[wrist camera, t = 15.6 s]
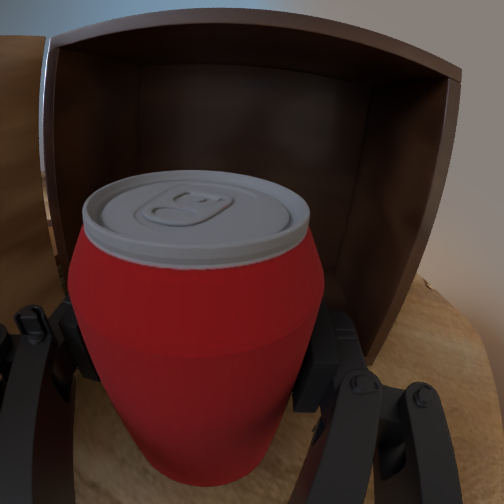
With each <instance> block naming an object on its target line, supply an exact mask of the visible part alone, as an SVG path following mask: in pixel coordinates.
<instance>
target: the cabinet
mask: <svg viewBox="0 0 504 504" xmlns="http://www.w3.org/2000/svg"><path fill="white" fill-rule="evenodd" d="M48 51H49V52H48V55H47V63H46V72H45V84H44V99H43V149H44V166H45V178H46V187H47V196H48V203H49V210H50V216H51V222H52V228H53V233H54V238H55V243H56V248H57V253H58V257H59V261H60V265H61V269H62V273H63V277H64V281H65V284H66V288H67V291H68V272H69V267H70V263H71V260H72V256H73V253H74V249H75V246H76V243H77V240H78V237H79V233H80V230H81V228H82V225H83V214H82V209H83V205H84V203H85V201H86V200H87V198H88V197H89V196H90V195H91V194H93V193H94V192H95V191H97V190H98V189H100V188H102V187H104V186H106V185H108V184H110V183H113V182H116V181H118V180H121V179H125V178H128V177H132V176H137V175H141V174H147V173H154V172H162V171H175V170H207V171H220V172H229V173H236V174H242V175H247V176H252V177H256V178H260V179H264V180H267V181H270V182H273V183H276V184H279V185H281V186H283V187H286V188H288V189H290V190H291V191H293V192H295V193H296V194H298V195H299V196H300V197H301V198H303V199H304V200H305V202H306V203H307V205H308V207H309V210H310V218H309V224H308V225H309V228H310V230H311V233H312V236H313V239H314V242H315V245H316V249H317V252H318V255H319V258H320V261H321V264H322V268H323V273H324V285H325V286H324V293H323V296H324V300H325V303H326V307H327V310H340V311H344V312H345V313H346V314H347V315H348V316H349V317H350V319H351V320H352V322H353V325H354V328H355V332H356V334H357V337H358V338H357V340H359V343H360V346H361V349H362V353H363V356H364V359H365V362H366V365H372V364H373V362H374V360H375V358H376V356H377V355H378V353H379V351H380V349H381V347H382V345H383V343H384V342H385V340H386V338H387V336H388V334H389V332H390V330H391V328H392V326H393V324H394V322H395V320H396V318H397V316H398V313H399V311H400V309H401V307H402V305H403V303H404V300H405V298H406V296H407V293H408V291H409V289H410V286H411V284H412V282H413V279H414V277H415V274H416V272H417V269H418V267H419V264H420V261H421V259H422V256H423V253H424V251H425V248H426V245H427V242H428V239H429V236H430V233H431V230H432V227H433V224H434V221H435V217H436V214H437V211H438V207H439V203H440V200H441V197H442V193H443V189H444V185H445V181H446V176H447V173H448V167H449V164H450V159H451V154H452V149H453V143H454V138H455V132H456V125H457V118H458V110H459V101H460V89H461V84H460V83H461V77H462V69H461V68H459V67H457V66H455V65H453V64H452V63H449V62H448V61H446V60H444V59H442V58H439V57H437V56H435V55H433V54H431V53H428V52H426V51H424V50H422V49H420V48H417V47H415V46H413V45H410V44H408V43H405V42H402V41H400V40H397V39H394V38H392V37H389V36H386V35H383V34H380V33H377V32H374V31H371V30H367V29H364V28H360V27H356V26H353V25H349V24H345V23H341V22H337V21H333V20H329V19H323V18H319V17H313V16H308V15H302V14H296V13H288V12H281V11H271V10H260V9H245V8H194V9H180V10H168V11H159V12H152V13H144V14H138V15H133V16H127V17H122V18H117V19H112V20H108V21H104V22H100V23H96V24H92V25H88V26H85V27H81V28H78V29H75V30H71V31H68V32H65V33H62V34H59V35H57V36H54V37H51V38H50V43H49V49H48ZM68 293H69V291H68Z"/></svg>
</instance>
